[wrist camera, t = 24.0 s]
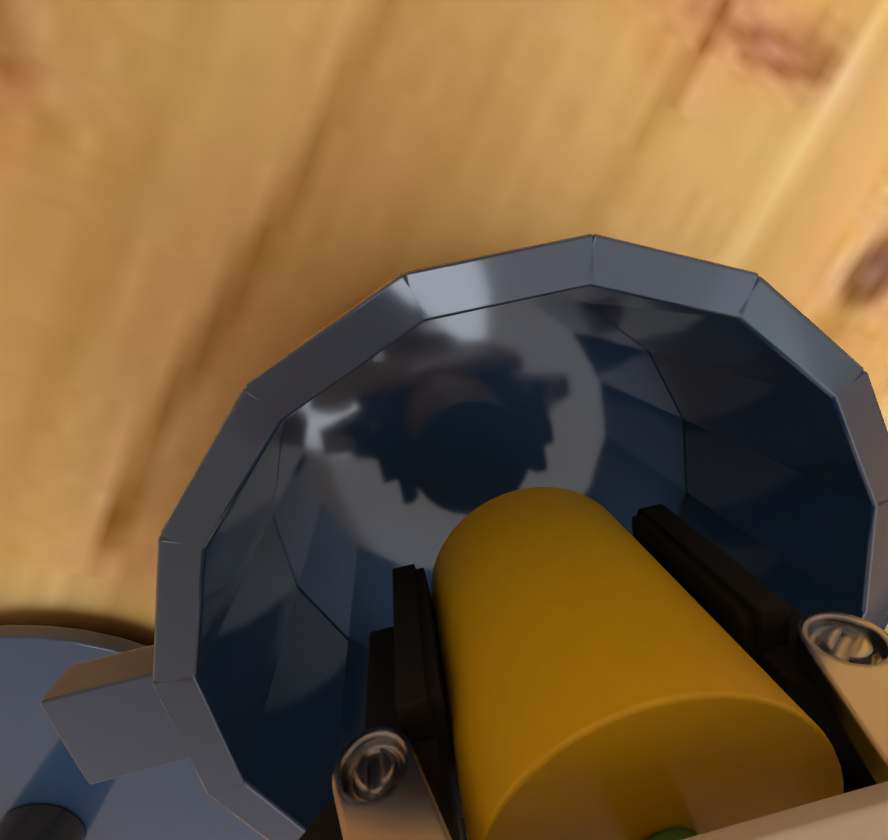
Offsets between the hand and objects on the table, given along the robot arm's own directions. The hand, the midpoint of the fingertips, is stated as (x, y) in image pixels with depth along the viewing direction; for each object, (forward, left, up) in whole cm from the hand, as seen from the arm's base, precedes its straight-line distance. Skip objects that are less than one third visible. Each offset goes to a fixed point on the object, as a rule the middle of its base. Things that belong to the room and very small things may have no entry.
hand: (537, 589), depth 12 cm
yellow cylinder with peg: (0, 0, 0) cm, 0 cm away
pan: (0, 0, -5) cm, 5 cm away
